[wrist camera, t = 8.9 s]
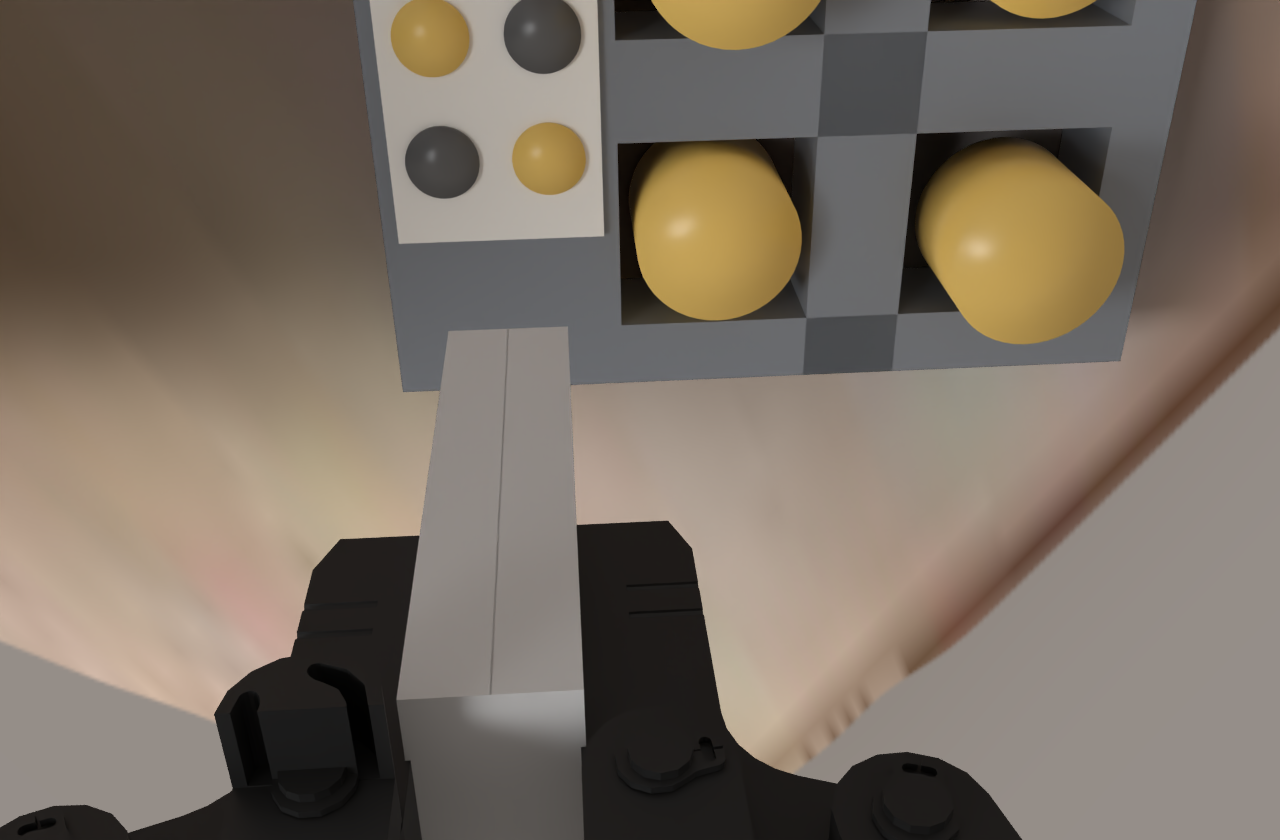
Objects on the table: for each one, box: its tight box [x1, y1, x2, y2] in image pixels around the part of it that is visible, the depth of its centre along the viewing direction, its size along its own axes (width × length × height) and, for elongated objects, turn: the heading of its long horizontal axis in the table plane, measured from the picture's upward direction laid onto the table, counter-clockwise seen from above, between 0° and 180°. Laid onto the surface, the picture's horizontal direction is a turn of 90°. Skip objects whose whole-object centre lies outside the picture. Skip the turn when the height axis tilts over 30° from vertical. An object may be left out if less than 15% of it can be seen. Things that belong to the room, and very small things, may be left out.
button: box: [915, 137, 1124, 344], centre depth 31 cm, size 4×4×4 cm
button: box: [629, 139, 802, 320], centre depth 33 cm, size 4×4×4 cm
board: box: [353, 0, 1197, 392], centre depth 31 cm, size 20×16×3 cm
